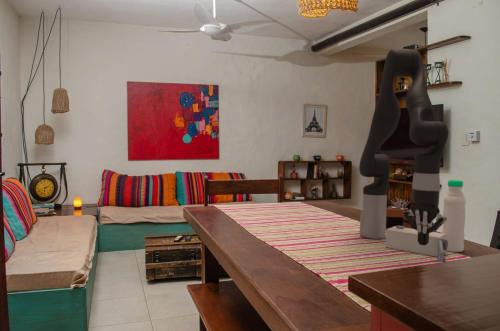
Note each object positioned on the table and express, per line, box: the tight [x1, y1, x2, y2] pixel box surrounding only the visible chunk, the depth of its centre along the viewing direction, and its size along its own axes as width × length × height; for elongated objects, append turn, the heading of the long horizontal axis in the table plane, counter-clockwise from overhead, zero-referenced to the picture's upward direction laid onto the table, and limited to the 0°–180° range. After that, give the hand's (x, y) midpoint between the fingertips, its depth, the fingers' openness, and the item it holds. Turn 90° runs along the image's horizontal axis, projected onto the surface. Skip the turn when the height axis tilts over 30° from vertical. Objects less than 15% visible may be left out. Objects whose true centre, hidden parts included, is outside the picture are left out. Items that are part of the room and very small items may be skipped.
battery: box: [386, 205, 405, 229], centre depth 178 cm, size 4×7×10 cm, turn 87°
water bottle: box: [441, 179, 467, 253], centre depth 142 cm, size 7×7×25 cm
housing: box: [385, 225, 448, 258], centre depth 142 cm, size 19×8×7 cm, turn 49°
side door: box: [437, 239, 446, 263], centre depth 125 cm, size 18×1×6 cm, turn 156°
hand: (423, 244), depth 122 cm, fingers closed
